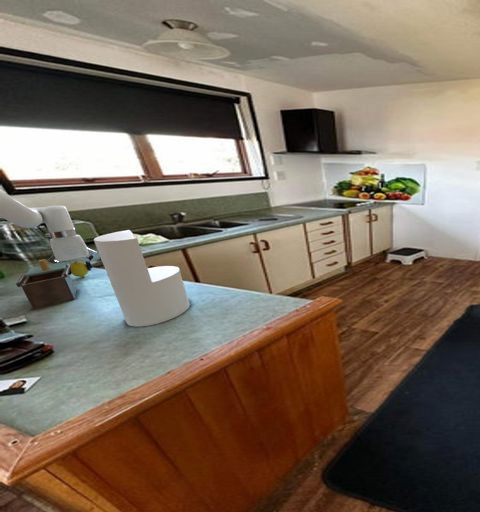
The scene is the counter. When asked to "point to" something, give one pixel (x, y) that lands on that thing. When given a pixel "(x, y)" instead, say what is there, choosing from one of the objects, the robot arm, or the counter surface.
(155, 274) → the white stepped drum
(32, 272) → the slide door
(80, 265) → the lemon
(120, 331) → the counter surface
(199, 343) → the counter surface
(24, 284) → the storage box
